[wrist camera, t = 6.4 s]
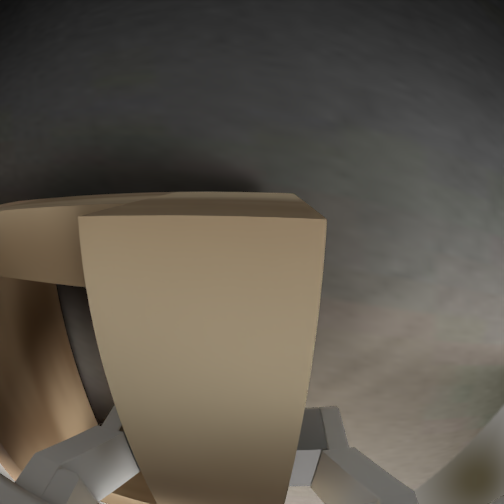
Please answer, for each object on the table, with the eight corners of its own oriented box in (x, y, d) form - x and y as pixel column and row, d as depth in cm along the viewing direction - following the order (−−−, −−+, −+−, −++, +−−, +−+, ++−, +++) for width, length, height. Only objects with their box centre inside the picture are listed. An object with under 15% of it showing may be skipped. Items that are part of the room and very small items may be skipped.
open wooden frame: (17, 201, 8) (-95, 230, 3) (293, 193, 8) (336, 226, 3) (85, 445, 11) (45, 513, 6) (270, 478, 11) (267, 570, 6)
